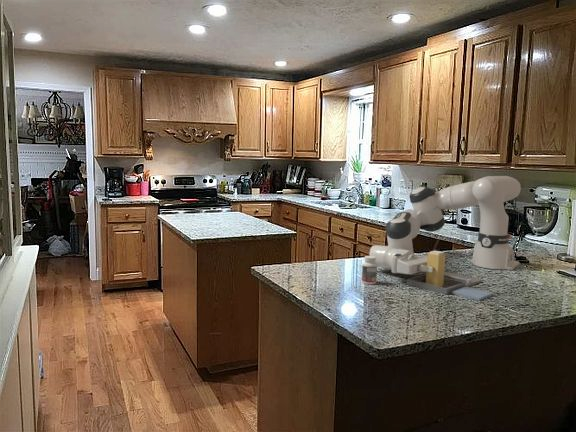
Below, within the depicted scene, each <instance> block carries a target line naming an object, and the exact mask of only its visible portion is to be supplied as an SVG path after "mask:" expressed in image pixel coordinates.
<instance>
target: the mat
mask: <svg viewBox="0 0 576 432" xmlns="http://www.w3.org/2000/svg"><path fill="white" fill-rule="evenodd" d="M450 294H453V295H455V296H459V297H463V298H467V299H471V300H474V301H479V302H480V301H482V300H485V299H486V298H489V297H493V295H494V292H492V291H486V290H483V289H479V288H474V287H471V286H469V287H467V286H465V287H462V288H460V289H457V290H454V291H452V293H450Z"/></svg>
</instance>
